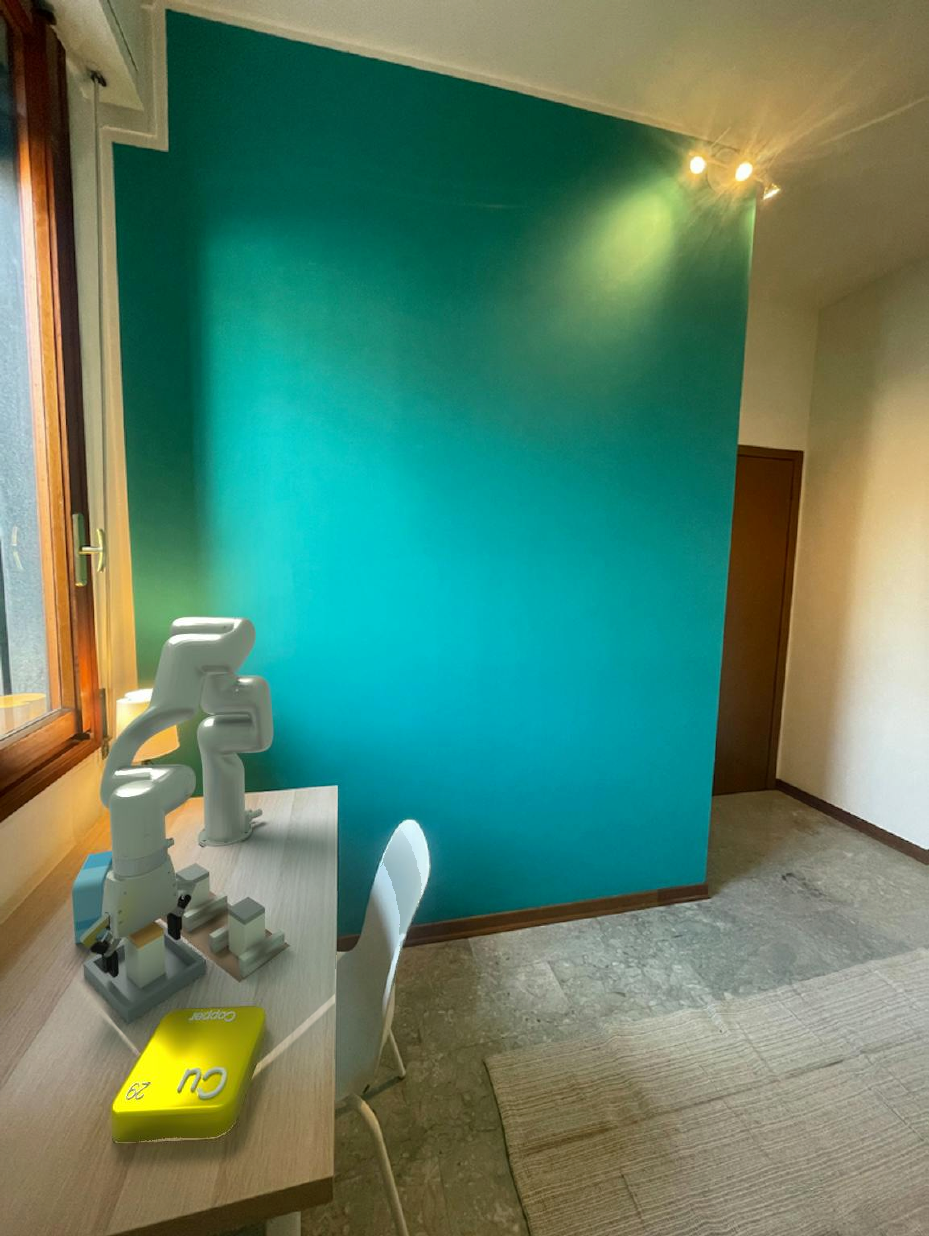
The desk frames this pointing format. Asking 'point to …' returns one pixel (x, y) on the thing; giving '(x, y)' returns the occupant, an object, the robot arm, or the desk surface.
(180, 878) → the block
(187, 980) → the tray
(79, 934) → the data package
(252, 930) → the block
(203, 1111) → the element tile
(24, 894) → the desk surface
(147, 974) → the block
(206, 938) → the fuse board
